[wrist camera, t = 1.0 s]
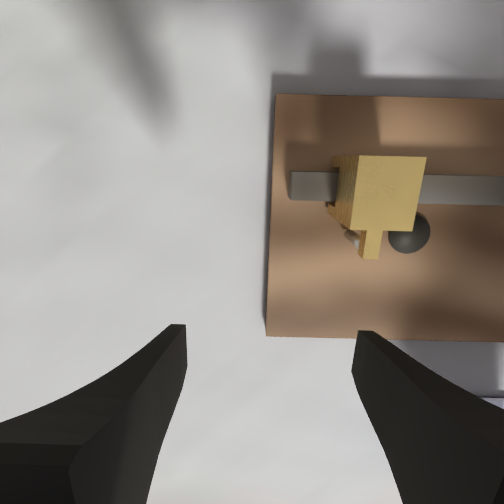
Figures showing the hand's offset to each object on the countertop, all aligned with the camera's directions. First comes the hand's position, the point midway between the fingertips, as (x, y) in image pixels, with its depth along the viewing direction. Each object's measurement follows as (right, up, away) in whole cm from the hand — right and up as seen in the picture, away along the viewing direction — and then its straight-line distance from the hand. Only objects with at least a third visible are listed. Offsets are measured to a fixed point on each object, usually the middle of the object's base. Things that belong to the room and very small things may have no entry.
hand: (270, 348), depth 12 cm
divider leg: (+5, +7, +6) cm, 11 cm away
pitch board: (+11, +6, +8) cm, 15 cm away
